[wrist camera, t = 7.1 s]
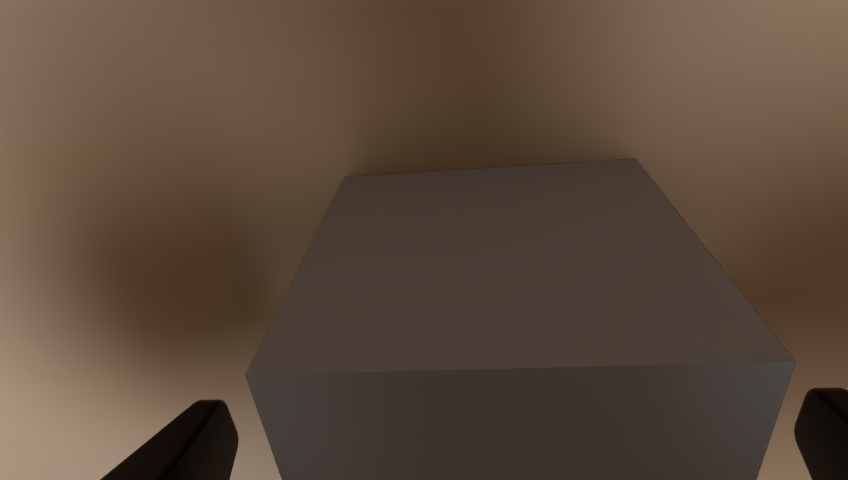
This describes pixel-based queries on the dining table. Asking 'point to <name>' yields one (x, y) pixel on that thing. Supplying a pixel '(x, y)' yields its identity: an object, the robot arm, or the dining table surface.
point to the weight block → (515, 336)
